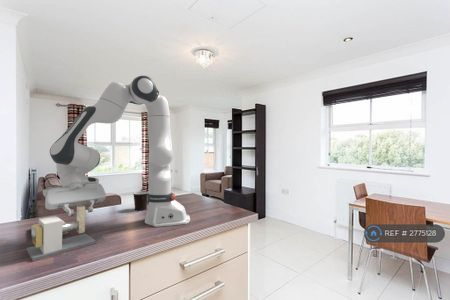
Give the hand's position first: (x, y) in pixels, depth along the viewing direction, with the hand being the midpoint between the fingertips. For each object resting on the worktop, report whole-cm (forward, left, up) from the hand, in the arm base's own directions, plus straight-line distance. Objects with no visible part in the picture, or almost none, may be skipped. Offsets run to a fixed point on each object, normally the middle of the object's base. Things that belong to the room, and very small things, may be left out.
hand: (81, 213), depth 85 cm
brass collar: (+10, +8, -8) cm, 15 cm away
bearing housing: (+5, +3, -11) cm, 13 cm away
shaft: (+6, +4, -7) cm, 10 cm away
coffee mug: (-12, -45, -12) cm, 48 cm away
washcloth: (+19, -14, -12) cm, 26 cm away
